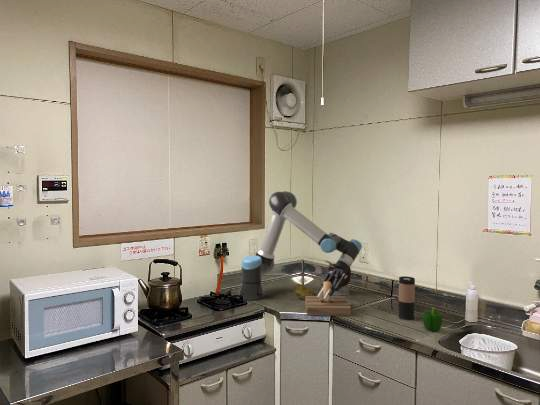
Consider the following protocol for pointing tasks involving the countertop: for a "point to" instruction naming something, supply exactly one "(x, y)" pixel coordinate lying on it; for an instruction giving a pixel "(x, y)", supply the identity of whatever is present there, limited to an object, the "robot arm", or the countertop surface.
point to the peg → (326, 290)
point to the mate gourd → (340, 291)
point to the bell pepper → (432, 320)
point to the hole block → (327, 306)
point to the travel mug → (406, 297)
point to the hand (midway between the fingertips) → (322, 298)
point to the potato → (303, 291)
